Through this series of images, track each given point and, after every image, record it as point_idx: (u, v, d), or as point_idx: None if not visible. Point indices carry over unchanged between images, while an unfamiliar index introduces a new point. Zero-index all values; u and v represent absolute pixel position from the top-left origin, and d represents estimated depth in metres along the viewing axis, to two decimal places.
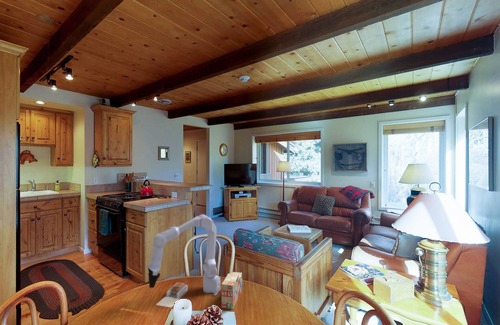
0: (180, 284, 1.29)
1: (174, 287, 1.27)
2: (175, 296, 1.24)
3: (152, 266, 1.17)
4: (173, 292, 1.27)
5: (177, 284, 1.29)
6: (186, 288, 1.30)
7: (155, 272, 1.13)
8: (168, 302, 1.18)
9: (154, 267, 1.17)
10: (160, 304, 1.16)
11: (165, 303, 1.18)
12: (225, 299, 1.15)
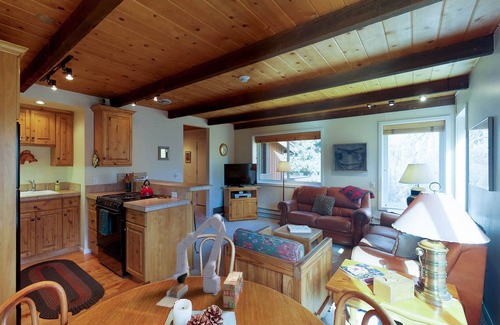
0: (179, 285, 1.28)
1: (173, 288, 1.26)
2: (175, 296, 1.24)
3: (177, 271, 1.30)
4: (172, 293, 1.26)
5: (176, 285, 1.28)
6: (186, 288, 1.30)
7: (174, 277, 1.25)
8: (168, 302, 1.18)
9: (178, 272, 1.29)
10: (160, 304, 1.16)
11: (165, 303, 1.18)
12: (227, 298, 1.16)
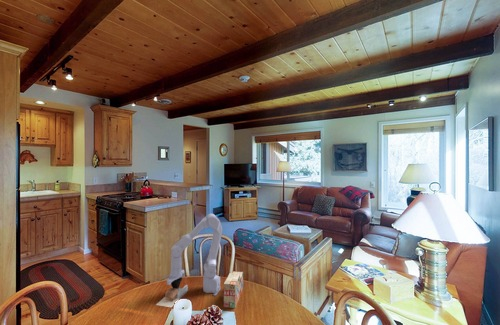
0: (173, 290, 1.23)
1: (167, 294, 1.20)
2: None
3: (171, 275, 1.24)
4: (166, 298, 1.20)
5: (170, 290, 1.23)
6: (186, 288, 1.30)
7: (168, 282, 1.19)
8: (168, 302, 1.18)
9: (172, 276, 1.24)
10: (160, 304, 1.16)
11: (165, 303, 1.18)
12: (227, 298, 1.16)
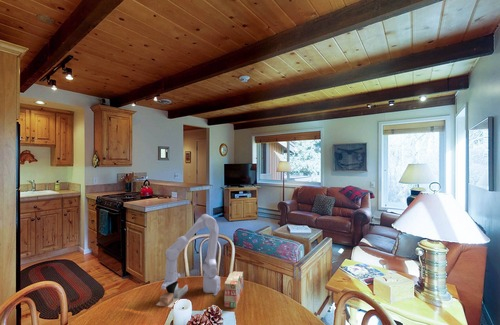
0: (168, 294, 1.18)
1: (161, 298, 1.16)
2: (175, 296, 1.24)
3: (166, 279, 1.20)
4: (161, 303, 1.16)
5: (165, 294, 1.18)
6: (186, 288, 1.30)
7: (163, 286, 1.15)
8: None
9: (167, 280, 1.19)
10: None
11: None
12: (228, 298, 1.16)
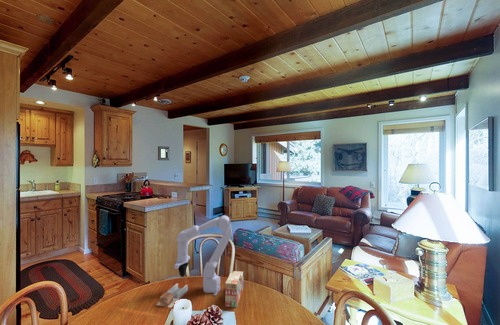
0: (168, 294, 1.18)
1: (161, 298, 1.16)
2: (175, 296, 1.24)
3: (178, 260, 1.30)
4: (161, 303, 1.16)
5: (165, 294, 1.18)
6: (186, 288, 1.30)
7: (176, 266, 1.25)
8: None
9: (179, 261, 1.29)
10: None
11: None
12: (229, 298, 1.17)
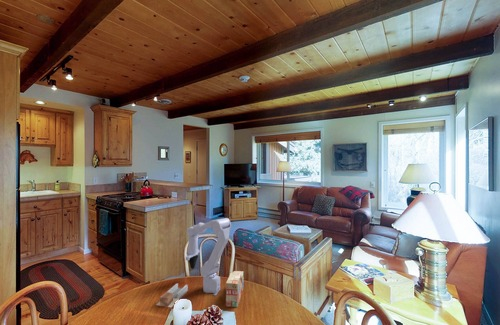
0: (168, 294, 1.18)
1: (161, 298, 1.16)
2: (175, 296, 1.24)
3: (189, 253, 1.40)
4: (161, 303, 1.16)
5: (165, 294, 1.18)
6: (186, 288, 1.30)
7: (187, 258, 1.34)
8: None
9: (190, 254, 1.39)
10: None
11: None
12: (230, 297, 1.17)
